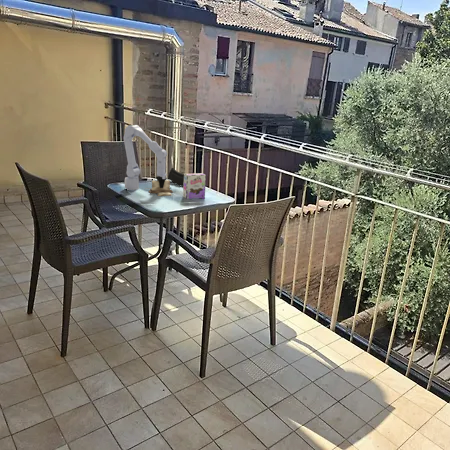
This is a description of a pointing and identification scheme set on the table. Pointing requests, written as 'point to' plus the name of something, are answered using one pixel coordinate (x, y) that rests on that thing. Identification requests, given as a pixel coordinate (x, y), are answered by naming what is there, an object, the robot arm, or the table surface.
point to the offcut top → (164, 194)
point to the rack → (160, 191)
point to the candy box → (194, 185)
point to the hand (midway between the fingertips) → (160, 187)
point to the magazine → (176, 177)
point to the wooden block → (156, 186)
